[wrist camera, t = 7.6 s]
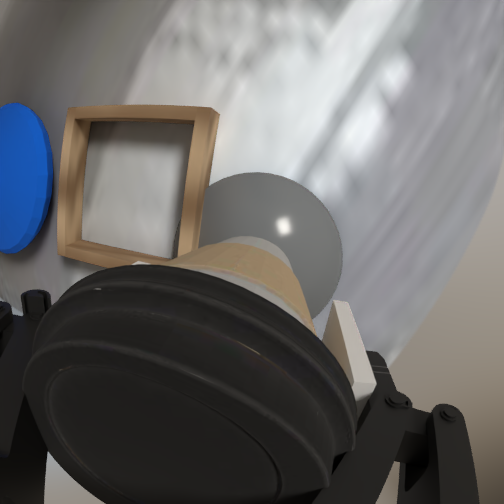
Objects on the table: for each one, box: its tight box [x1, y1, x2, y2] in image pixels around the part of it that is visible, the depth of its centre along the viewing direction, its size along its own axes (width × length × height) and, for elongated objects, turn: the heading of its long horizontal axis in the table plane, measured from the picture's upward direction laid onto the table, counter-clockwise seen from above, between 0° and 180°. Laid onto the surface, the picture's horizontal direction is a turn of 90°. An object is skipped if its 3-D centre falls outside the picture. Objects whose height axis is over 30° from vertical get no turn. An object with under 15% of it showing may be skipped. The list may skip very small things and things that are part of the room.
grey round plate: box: [174, 172, 343, 319], centre depth 24 cm, size 13×13×1 cm
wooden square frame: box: [57, 105, 220, 268], centre depth 23 cm, size 13×13×2 cm
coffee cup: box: [22, 236, 358, 504], centre depth 13 cm, size 9×9×15 cm
